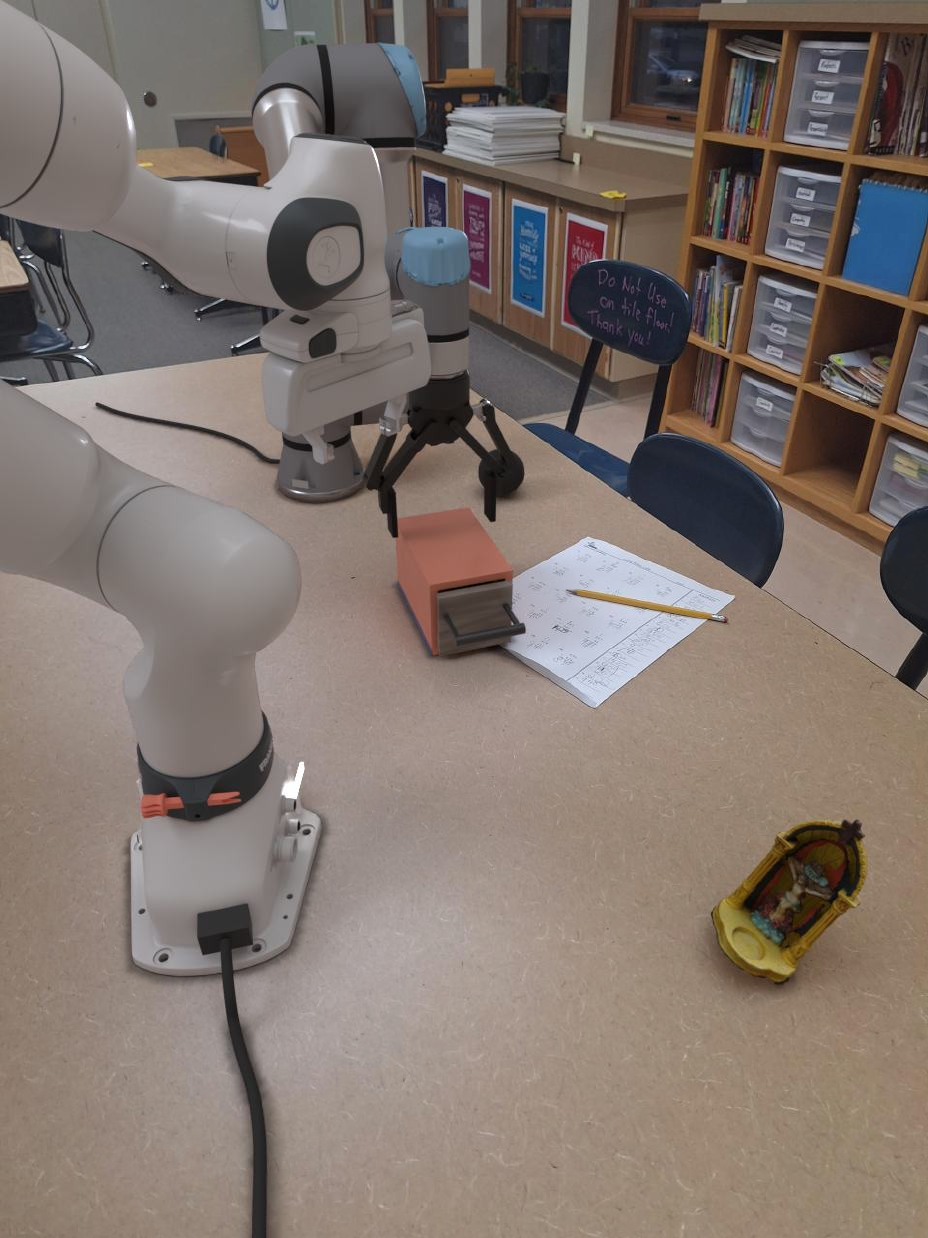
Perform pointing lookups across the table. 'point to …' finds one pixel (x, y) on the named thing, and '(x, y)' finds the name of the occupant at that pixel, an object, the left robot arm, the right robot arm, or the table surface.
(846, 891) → the shrine
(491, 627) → the drawer
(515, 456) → the bomb
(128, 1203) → the table surface
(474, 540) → the cabinet
